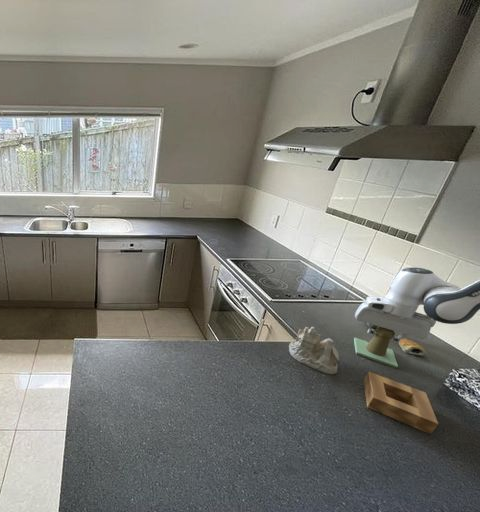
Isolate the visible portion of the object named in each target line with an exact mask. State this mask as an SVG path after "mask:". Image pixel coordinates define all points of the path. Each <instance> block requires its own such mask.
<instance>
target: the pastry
mask: <svg viewBox="0 0 480 512" xmlns="http://www.w3.org/2000/svg"><path fill="white" fill-rule="evenodd" d="M398 346H399V347H400V349H401V350H402V351H403V352H404V353H406V354H409V355H415V356H424V355H426V350H424V349H425V348H423V347H422V346H421V344H419V343H418V342H415V341H414V340H411V339H408V338H407V337H406V338H403V339H400V341H399V343H398Z"/></svg>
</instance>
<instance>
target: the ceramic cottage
mask: <svg viewBox="0 0 480 512" xmlns="http://www.w3.org/2000/svg"><path fill="white" fill-rule="evenodd" d="M321 337H322V335H321V333H318V332H317V330H315V327H314V326H311V327H310V328H309V326H305V327H304V329H301V328H299V330H298V331H297V336H296V337H295V339H294V340H293V341H291V342H290V343H289V344H288V351H289V354H290V356H291V357H292V358H293V359H295V360H296V361H297V362H299V363H300V364H302V365H305V366H307V367H310V368H312V369H314V370H316V371H318V372H321V373H324V374H327V375H336V374H337V372H338V367H339V364H338V362H339V361H340V357H339V351H338V350H337V349H336V348H335V346H334V345H333V344H334V339H332V338H330V337H329V338H328V337H327V338H326V339H323V340H321Z"/></svg>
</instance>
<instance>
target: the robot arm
mask: <svg viewBox="0 0 480 512" xmlns="http://www.w3.org/2000/svg"><path fill="white" fill-rule="evenodd" d="M420 306H423V311H424V313H425V314H424V313H421V312H418V311H417V310H418V308H419V307H420ZM479 311H480V279H478V280H476V281H474V282H472V283H470V284H468V285H466V286H464V287H463V288H460V287H459V286H458V285H456V284H452V283H450V282H448V281H445V280H444V279H442V278H440V277H439V276H438V275H437V274H435V273H434V271H432V270H430V269H426V268H423V267H406V268H402V269H401V270H400V271H399V272H398V273H397V274H396V276H395V277H394V279H393V281H392V283H391V285H390V290H389V291H388V293H386V295H385V296H372V295H371V296H370V295H369V296H367V297H366V299H365V301H364V302H361V304H360V305H359V306H358V308H357V309H356V311H355V312H354V317H355V319H356V321H359V322H363V323H366V325H367V328H368V329H367V334H369V335H373V336H374V333H375V328H372V327H373V325H376V326H379V327H383V328H386V329H389V330H393V331H394V332H396V333H398V334H399V333H400V334H399V335H395V336H394V337H393V338H392V341H393V342H395V343H398V344H399V341H400V339H403V338H406V339H407V337H408V336H409V337H413V338H417V339H419V340H425V339H428V337H429V335H430V332H431V329H432V328H433V327H435V325H436V323H437V322H438V323H441V324H447V325H457V324H463V323H467V322H468V321H470V320H471V319H472V318H473V317H474V316H475V315H476V314H477V313H478V312H479Z"/></svg>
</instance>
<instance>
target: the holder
mask: <svg viewBox="0 0 480 512" xmlns="http://www.w3.org/2000/svg"><path fill="white" fill-rule="evenodd" d="M362 382H363V389H364V396H365V400H366V407H367V408H368V409H370V410H373V411H375V412H377V413H380V414H382V415H384V416H387V417H389V418H391V419H394V420H396V421H398V422H401V423H403V424H405V425H408V426H409V427H412V428H414V429H417V430H419V431H422V432H424V433H426V434H429V435H432V433H433V432H434V431H435V429H436V428H437V427H438V425H439V421H438V420H437V417H436V415H435V412H434V410H433V407H432V405H431V402H430V400H429V397H428V395H427V392H425V391H422V390H421V389H417V388H414V387H413V386H409V385H406V384H404V383H402V382H398V381H395V380H393V379H391V378H387V377H385V376H382V375H379V374H376V373H374V372H371V371H369V370H368V371H367V373H366V374H365V376H364V378H363V381H362Z"/></svg>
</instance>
